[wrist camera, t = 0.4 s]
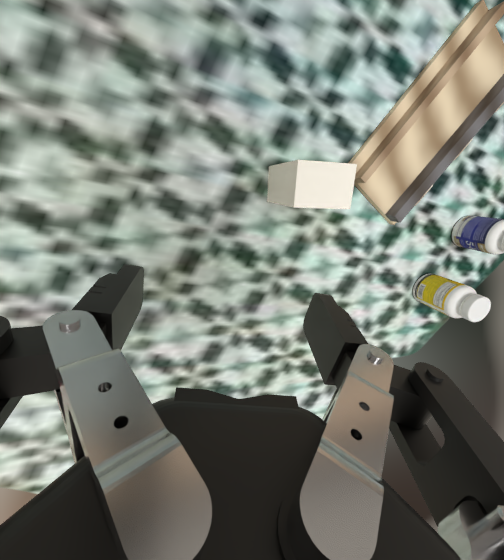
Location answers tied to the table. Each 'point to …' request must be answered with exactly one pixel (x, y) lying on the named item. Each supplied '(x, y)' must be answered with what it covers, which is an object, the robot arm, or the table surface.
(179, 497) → the robot arm
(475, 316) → the supplement bottle
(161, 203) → the table surface
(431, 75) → the shelf ledge
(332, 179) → the carton
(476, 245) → the pill bottle
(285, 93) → the table surface
